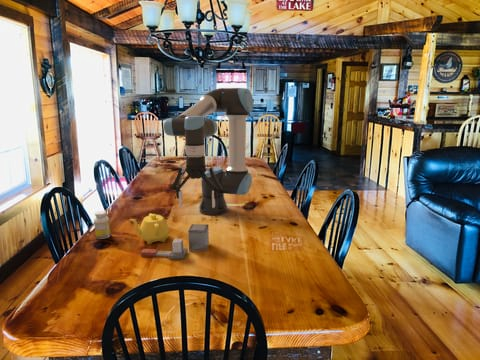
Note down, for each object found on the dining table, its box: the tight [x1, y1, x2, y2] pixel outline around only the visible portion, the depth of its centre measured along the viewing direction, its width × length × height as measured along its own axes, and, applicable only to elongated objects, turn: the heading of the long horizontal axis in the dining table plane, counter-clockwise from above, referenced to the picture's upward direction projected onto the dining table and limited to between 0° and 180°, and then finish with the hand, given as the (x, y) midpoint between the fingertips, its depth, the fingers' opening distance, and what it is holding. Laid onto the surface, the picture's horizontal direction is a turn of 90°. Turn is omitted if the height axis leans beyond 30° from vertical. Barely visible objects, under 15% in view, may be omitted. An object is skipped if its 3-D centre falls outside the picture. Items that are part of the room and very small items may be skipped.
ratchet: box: [140, 238, 189, 261], centre depth 152 cm, size 7×18×6 cm, turn 85°
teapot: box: [128, 213, 170, 245], centre depth 166 cm, size 14×14×12 cm
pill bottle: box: [93, 210, 112, 240], centre depth 170 cm, size 6×6×12 cm
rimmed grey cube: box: [187, 223, 210, 252], centre depth 158 cm, size 7×7×9 cm
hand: (197, 206), depth 154 cm, fingers open, 13 cm apart
